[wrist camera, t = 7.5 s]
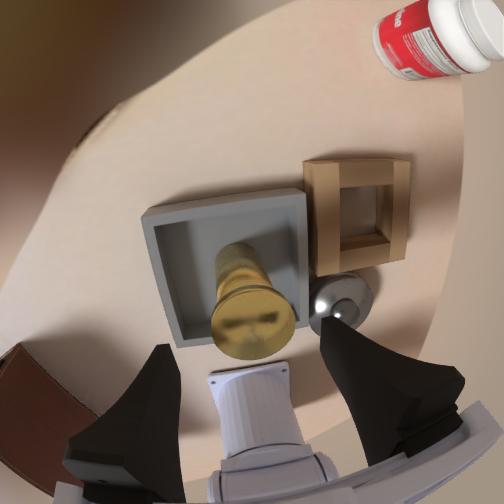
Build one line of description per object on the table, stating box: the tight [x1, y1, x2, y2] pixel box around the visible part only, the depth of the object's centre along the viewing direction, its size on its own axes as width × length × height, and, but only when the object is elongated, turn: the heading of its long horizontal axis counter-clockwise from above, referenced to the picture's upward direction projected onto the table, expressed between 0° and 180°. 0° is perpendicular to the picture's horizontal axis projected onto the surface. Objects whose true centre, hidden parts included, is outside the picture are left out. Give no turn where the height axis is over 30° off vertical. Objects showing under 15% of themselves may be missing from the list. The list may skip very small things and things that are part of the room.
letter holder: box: [0, 344, 99, 498], centre depth 19 cm, size 10×20×14 cm, turn 28°
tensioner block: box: [303, 158, 410, 277], centre depth 20 cm, size 8×8×2 cm
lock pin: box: [211, 243, 296, 360], centre depth 17 cm, size 4×4×8 cm
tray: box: [141, 187, 309, 348], centre depth 20 cm, size 10×10×3 cm
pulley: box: [309, 271, 373, 336], centre depth 23 cm, size 6×6×3 cm
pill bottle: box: [372, 0, 504, 80], centre depth 11 cm, size 6×6×11 cm
